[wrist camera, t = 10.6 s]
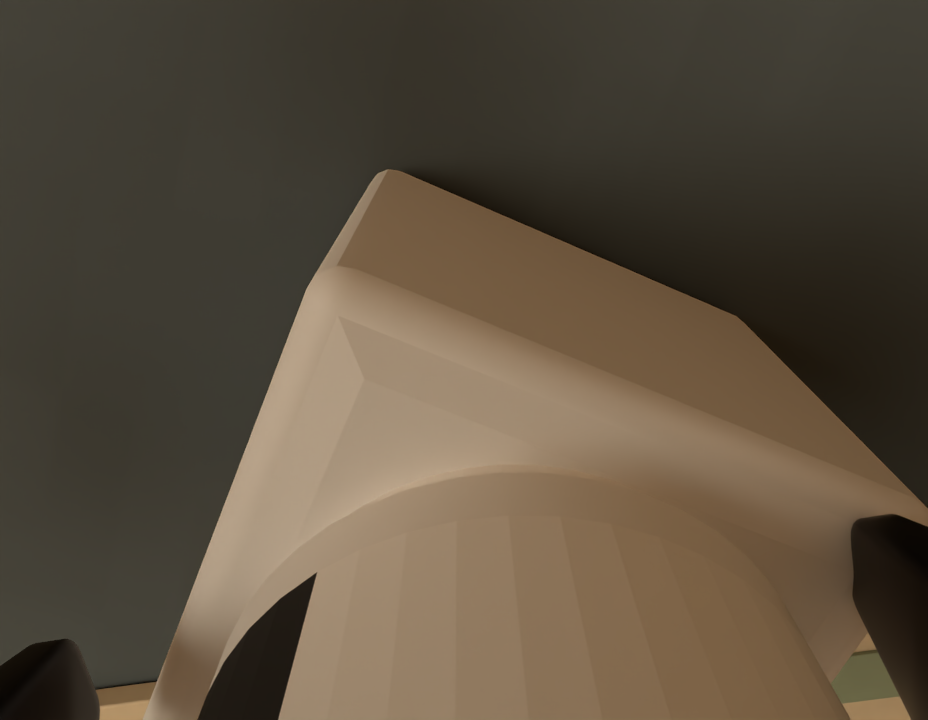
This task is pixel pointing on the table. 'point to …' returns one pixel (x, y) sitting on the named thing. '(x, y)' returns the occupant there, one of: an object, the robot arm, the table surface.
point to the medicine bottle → (524, 498)
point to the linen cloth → (856, 685)
